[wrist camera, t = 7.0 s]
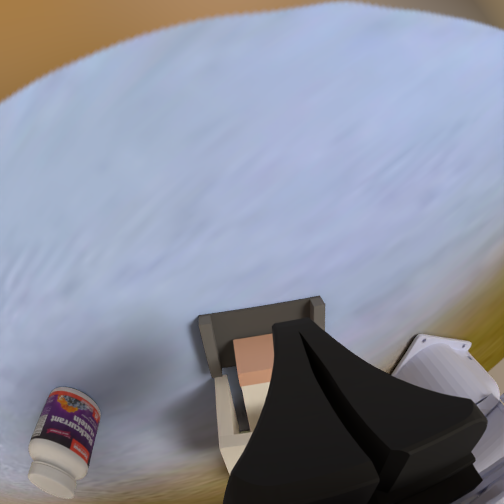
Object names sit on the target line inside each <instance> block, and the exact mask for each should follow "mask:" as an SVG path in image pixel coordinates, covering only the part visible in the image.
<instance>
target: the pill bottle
mask: <svg viewBox="0 0 504 504" xmlns="http://www.w3.org/2000/svg"><path fill="white" fill-rule="evenodd" d="M100 418H101V413H100V410H99V407H98V406H97V404H96V403H95V402H94V401H93V400H92V399H91V398H90V397H88V396H87V395H86V394H84V393H82V392H80V391H78V390H76V389H73V388H69V387H58V388H56V389H54V390H53V391H52V392H51V393H50V395H49V397H48V399H47V402H46V404H45V406H44V409H43V411H42V413H41V415H40V418H39V420H38V423H37V425H36V428H35V430H34V433H33V435H32V438H31V441H30V444H29V453H30V456H31V457H32V459H33V460H34V462H32V464H31V467H30V470H29V473H28V478H29V480H30V481H31V482H32V483H33V484H34V485H35V486H37V487H38V488H40V489H41V490H43V491H45V492H47V493H49V494H51V495H54V496H57V497H60V498H64V499H71V498H73V497H74V494H75V490H76V484H77V483H76V480H79V479H82V478H84V477H85V476H86V474H87V472H88V468H89V463H90V458H91V454H92V450H93V446H94V441H95V437H96V434H97V430H98V426H99V423H100Z"/></svg>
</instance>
